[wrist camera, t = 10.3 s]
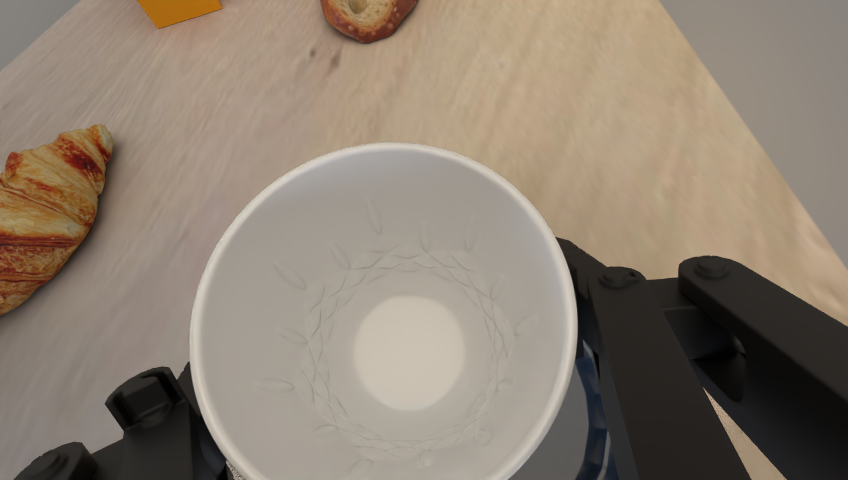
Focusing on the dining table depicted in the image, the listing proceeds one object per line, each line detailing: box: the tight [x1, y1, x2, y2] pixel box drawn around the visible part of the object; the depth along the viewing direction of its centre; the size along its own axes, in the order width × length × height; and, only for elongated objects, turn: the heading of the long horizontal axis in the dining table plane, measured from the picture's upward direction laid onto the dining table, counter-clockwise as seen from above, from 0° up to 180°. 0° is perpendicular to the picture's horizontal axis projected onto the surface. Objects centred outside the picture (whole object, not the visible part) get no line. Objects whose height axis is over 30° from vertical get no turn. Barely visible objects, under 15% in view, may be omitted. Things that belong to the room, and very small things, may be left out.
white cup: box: [189, 142, 578, 480], centre depth 13 cm, size 8×8×10 cm
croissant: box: [0, 124, 113, 315], centre depth 33 cm, size 21×10×8 cm, turn 164°
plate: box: [508, 340, 619, 480], centre depth 27 cm, size 20×20×4 cm
